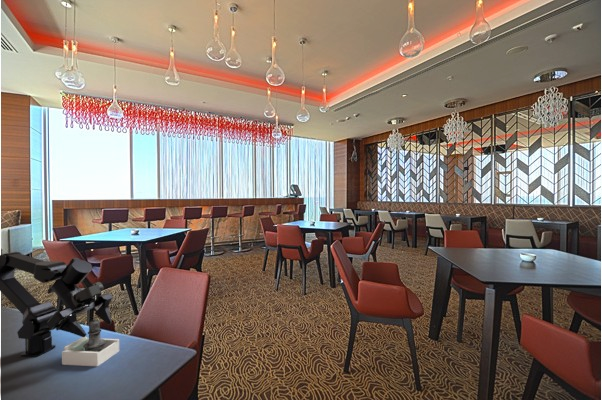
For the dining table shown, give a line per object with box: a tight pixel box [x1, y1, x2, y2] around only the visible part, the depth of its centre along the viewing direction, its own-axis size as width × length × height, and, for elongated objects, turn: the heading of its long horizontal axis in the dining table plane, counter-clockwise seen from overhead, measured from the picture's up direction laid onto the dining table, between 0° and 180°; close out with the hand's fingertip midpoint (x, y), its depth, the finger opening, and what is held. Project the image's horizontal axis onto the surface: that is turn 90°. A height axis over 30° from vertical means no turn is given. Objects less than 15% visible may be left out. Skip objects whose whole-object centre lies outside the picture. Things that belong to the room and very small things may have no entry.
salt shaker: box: [83, 316, 106, 352], centre depth 93 cm, size 6×6×12 cm
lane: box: [61, 335, 120, 367], centre depth 93 cm, size 12×9×5 cm
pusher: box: [72, 337, 89, 351], centre depth 93 cm, size 1×7×4 cm, turn 174°
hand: (98, 329), depth 92 cm, fingers open, 9 cm apart
